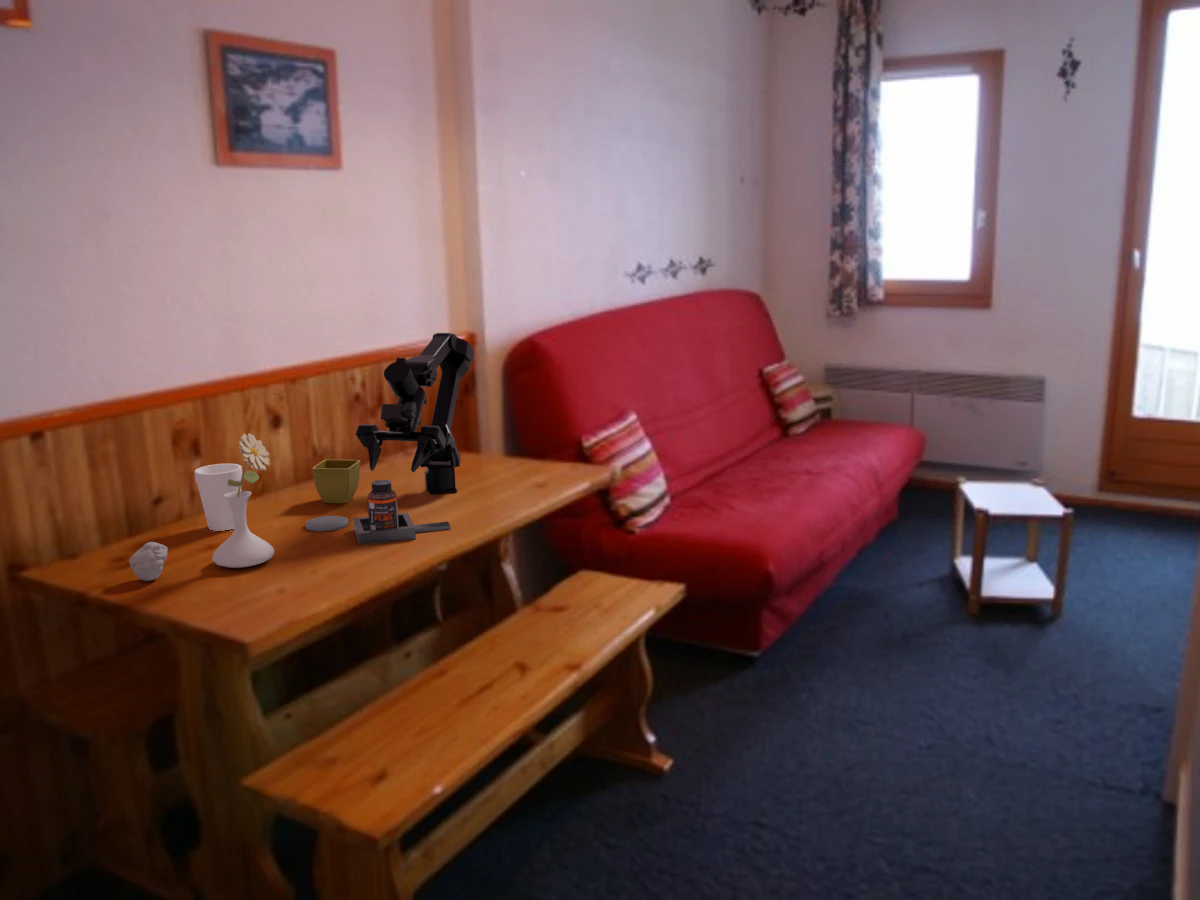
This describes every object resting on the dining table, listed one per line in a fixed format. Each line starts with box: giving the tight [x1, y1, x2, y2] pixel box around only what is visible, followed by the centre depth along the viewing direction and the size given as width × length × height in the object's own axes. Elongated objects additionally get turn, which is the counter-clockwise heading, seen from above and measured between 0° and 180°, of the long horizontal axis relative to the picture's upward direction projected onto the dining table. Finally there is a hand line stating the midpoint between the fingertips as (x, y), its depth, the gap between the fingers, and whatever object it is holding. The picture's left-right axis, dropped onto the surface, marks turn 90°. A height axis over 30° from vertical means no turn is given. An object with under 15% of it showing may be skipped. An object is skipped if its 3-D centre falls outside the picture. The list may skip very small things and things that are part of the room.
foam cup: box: [194, 463, 243, 532], centre depth 221 cm, size 10×9×13 cm
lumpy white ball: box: [128, 541, 169, 582], centre depth 191 cm, size 6×7×7 cm
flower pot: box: [311, 459, 361, 504], centre depth 240 cm, size 9×9×9 cm
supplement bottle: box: [367, 479, 399, 531], centre depth 214 cm, size 6×6×11 cm
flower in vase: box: [211, 433, 276, 569], centre depth 197 cm, size 13×11×25 cm
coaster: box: [304, 515, 349, 533], centre depth 222 cm, size 9×9×1 cm
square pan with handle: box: [352, 512, 451, 546], centre depth 216 cm, size 19×11×2 cm, turn 108°
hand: (391, 470), depth 219 cm, fingers open, 9 cm apart
